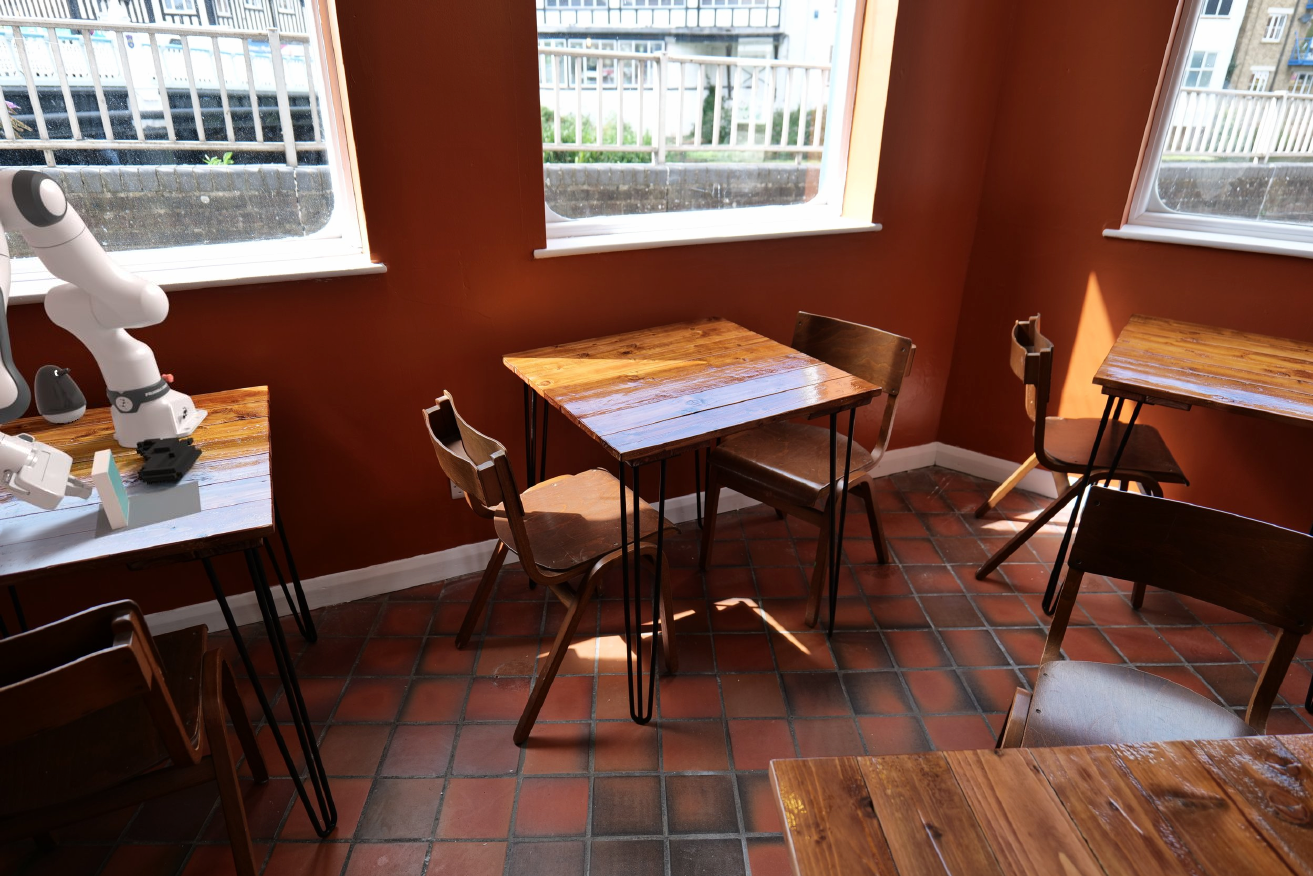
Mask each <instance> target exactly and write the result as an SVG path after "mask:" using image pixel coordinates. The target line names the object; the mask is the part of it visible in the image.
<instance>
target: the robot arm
mask: <svg viewBox="0 0 1313 876" xmlns="http://www.w3.org/2000/svg"><path fill="white" fill-rule="evenodd" d="M13 231H18V232H19V233H20V234H21V236H22V237H23V239H24V240H25V242H26V243H27V245H28V246H29V247H30V248H31V250H32V251H33V253H35V255H36V257H38V259H39V260H40V262H41V263H42V264H43V265H44V267H45V268H46V270H48V272H49V273H50V275H52V276H54V277H55V278H57V279H59V280H61V281H63V282H67V283H64V284H60V285H56V286H53V287H51V288H50V289H48V291H47V293H46V294H45V297H44V302H43V304H44V309H45V312H46V314H47V317H49V320H51V321H52V323H54V324H55V325H56V326H59V327H61V328H63V329H65V330H66V331H68V332H69V333H70V334H73V335H74V336H75V337H76V338H77V339H78V340H80V341H81V342H82V343H83V344H84V346H85V347H86V348H87V349H88V350H89V352H91V354H92V355H93V358H94V359H95V361H96V362H97V365H98V367H99V369H100V373H101V374H102V377H103V379H104V381H105V384H106V386H107V387H106V389H105V390H106V396H107V398H108V399H109V402H110V404H111V406H110V414H111V419H112V422H113V426H114V430H115V432H114V433H113V434H112V435H113V439H114V440H116V441H118V444H119V446H121V447H125V448H129V449H130V448H134V449H135V448H136V449H137V448H138V447H137V443H138V442H142V441H144V440H145V439H156V438H160V439H161V440H162V439H165V438H175V437H178V438H184V437H188V436H190V435H192V434H193V432H194V431H195V430H196V429H197V427H199V425H200V424H201V423H202V422H203V421H204V419H205V418H206V417H207V416H208V411H207V409H206V410H205V409H201V408H196V407H195V404H194V402H193V400H192V398H191V396H190V395H187V394H185V393H182V392H179V391H176V390H174V389H171V388H170V386H169V385H168V383H172V382H174V376H173V375H172V374H171V373H169V374H162V375H161V373H160V370H159V368H158V365H157V361H156V359H155V355H154V352H153V351H152V349H151V348H150V347H149V346H148V345H147V344H146V343H144V342H142V341H140V340H137V339H136V338H134V337H133V336H131V335H130V334H129V333H128V332H127V331H126V330H125V329H138V328H139V329H140V328H145V327H149V326H153V325H157V324H160V323H162V322H164V320H165V319H166V318H167V316H168V313H169V306H170V304H169V298H168V297H167V294H166V292H165V291H164V290H163V289H162V288H161V287H160V286H159V285H158V284H156V283H154V282H152V281H148V280H146V279H143V278H142V277H140V276H137V275H136V274H134V273H133V272H132V271H129V270H128V269H126V268H125V267H124V266H122V265H121V264H120V263H118V262H117V261H116V260H114V259H113V258H112V257H111V256H110V255H109V253H107V252H106V250H105V249H104V248H103V247H102V246H101V245H100V243H99V241H97V239H96V238H95V237H94V235H93V233H91V231H90V229H89V228H88V226H87V225H86V223H85V221H84V220H83V219H82V218H81V217H80V214H79V213H77V211H76V209H74V208H73V206H72V205H71V204H70V203H69V201H68V199H67V196H66V193H65V192H64V189H63V188H62V186H61V185H60V183H58V182H57V181H56V180H55V179H54V178H52V177H51V176H50V175H48V174H47V173H45V172H42V171H37V170H32V169H20V170H0V427H2V425H4V424H9V423H12V422H14V421H15V420H18V419H19V418H20V417H22V416H23V415H24V414H25V412H26V411H27V410H28V409H29V406H30V403H31V400H32V395H31V394H32V393H31V390H30V387H29V385H28V383H27V382H26V380H25V378H24V376H23V375H22V374H21V372H20V371H19V370H18V368H17V367H16V365H15V363H14V360H13V356H12V355H13V354H12V348H11V342H10V335H9V328H8V322H7V321H8V320H7V308H8V302H9V297H10V293H11V291H10V290H11V283H12V282H11V281H12V270H11V269H12V265H11V258H10V257H11V256H10V250H9V245H8V241H7V236H6V233H10V232H13ZM35 439H36V438H35V437H34V436H33V435H30V434H29V433H25V432H22V433H20V434H16V435H12V436H11V435H9V434H6V433H4V432H1V431H0V487H2V488H6V489H7V490H8V492H9V494H11V496H13V497H15V498H17V499H18V500H20V501H23V502H25V503H27V504H30V505H32V506H35V507H37V508H40V509H43V510H45V511H54V510H56V508H58V506H59V504H61V502H62V500H63V499H64V498H65V497H76V498H80V499H83V500H89V499H90V497H92V494H93V493H92V492H93V490H94V489H93V486H92V485H89V484H87V483H85V482H83V481H82V480H80V479H79V478H78V477H76V476H75V475H72V474H70V471H71V469H72V468H71V467H72V464H73V461H74V459H73V457H71V455H69V454H67V453H66V452H64V451H62V450H60V449H58V448H55V447H54V446H51V445H48V444H46V443H45V442H41V441H38V440H36V441H35Z"/></svg>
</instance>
